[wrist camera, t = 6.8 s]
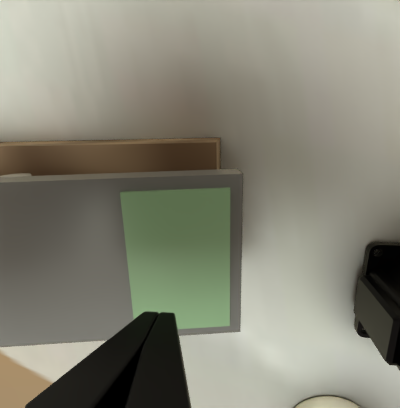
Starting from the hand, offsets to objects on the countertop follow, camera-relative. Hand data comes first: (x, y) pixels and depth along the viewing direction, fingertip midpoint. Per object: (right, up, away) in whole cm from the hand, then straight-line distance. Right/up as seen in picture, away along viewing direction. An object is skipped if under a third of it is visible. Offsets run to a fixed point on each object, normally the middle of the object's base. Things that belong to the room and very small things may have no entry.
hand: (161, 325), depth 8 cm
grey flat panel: (-6, +1, +5) cm, 8 cm away
